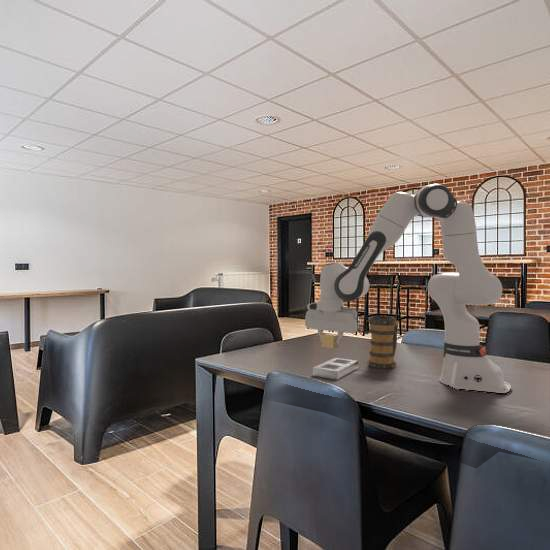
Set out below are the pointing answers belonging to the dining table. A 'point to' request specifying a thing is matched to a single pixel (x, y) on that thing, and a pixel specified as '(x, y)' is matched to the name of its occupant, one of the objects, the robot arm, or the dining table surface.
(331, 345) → the yellow cube
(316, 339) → the dining table surface
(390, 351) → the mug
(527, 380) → the dining table surface
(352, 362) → the white flat tray
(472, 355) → the robot arm
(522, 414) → the dining table surface
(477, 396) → the dining table surface
